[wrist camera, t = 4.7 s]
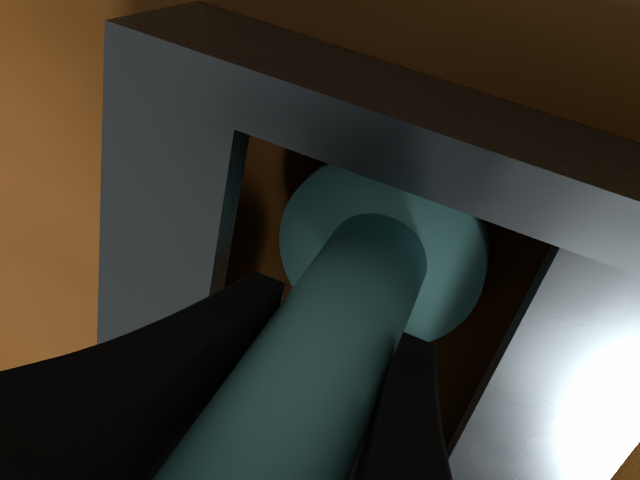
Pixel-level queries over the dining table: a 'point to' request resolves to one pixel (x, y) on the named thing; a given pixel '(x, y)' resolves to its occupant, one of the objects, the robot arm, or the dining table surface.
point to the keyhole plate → (396, 171)
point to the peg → (335, 329)
